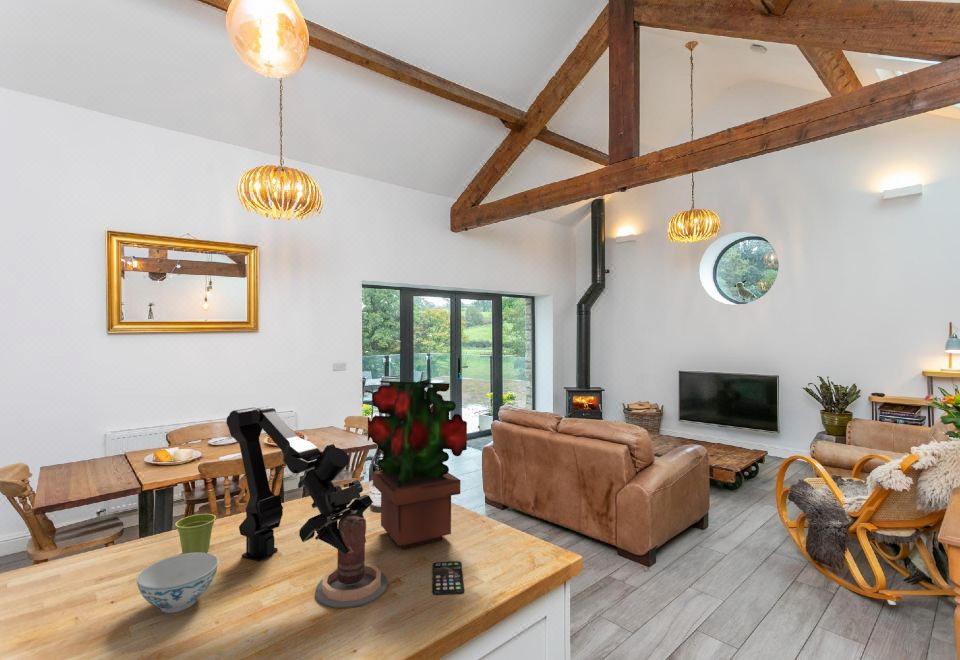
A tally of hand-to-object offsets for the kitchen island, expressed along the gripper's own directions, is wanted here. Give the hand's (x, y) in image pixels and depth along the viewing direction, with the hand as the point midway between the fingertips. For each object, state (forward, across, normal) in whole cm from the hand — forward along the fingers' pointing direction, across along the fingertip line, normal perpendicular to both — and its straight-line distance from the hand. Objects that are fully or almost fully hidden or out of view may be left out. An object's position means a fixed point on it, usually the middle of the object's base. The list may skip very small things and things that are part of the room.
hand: (356, 547), depth 109 cm
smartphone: (+18, +15, -4) cm, 24 cm away
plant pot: (-28, -8, +43) cm, 52 cm away
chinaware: (-14, -23, +28) cm, 39 cm away
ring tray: (+6, 0, +8) cm, 10 cm away
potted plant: (+3, +30, +11) cm, 32 cm away
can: (+4, 0, +6) cm, 8 cm away
